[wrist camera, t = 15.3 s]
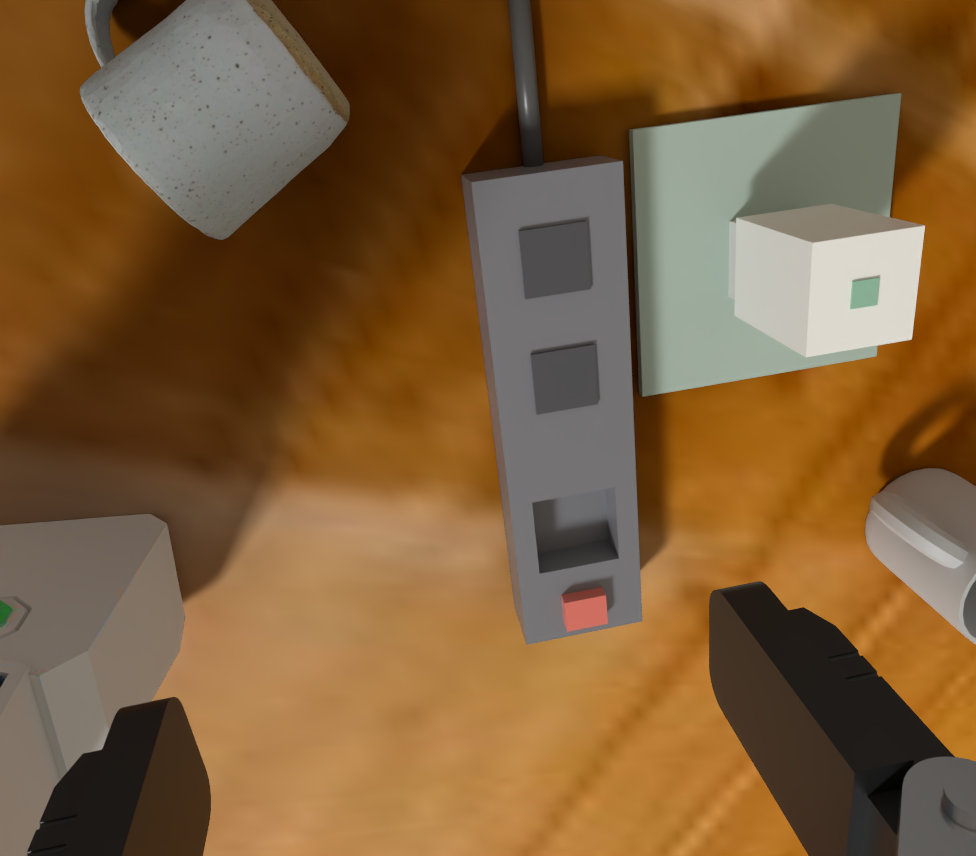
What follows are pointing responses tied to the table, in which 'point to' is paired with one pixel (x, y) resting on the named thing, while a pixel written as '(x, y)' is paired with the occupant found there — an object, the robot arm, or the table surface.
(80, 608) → the electronic device
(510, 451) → the power strip
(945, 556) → the cup
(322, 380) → the table surface
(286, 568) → the table surface
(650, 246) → the rubber mat
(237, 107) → the ceramic mug
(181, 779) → the robot arm
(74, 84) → the table surface
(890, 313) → the block
